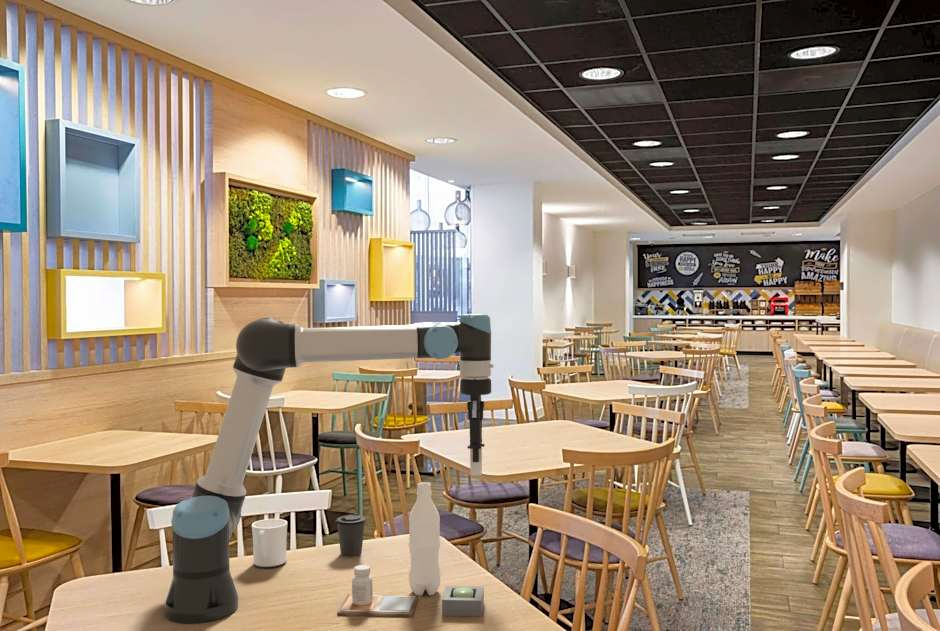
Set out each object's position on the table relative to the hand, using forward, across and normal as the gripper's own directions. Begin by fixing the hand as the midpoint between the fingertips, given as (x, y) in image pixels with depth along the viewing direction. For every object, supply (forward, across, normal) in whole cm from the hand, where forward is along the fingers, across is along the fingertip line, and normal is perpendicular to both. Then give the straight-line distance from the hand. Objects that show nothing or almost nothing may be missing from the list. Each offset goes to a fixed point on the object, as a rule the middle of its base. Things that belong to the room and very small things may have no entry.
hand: (476, 474), depth 199 cm
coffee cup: (+25, +14, +34) cm, 44 cm away
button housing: (+24, -22, +2) cm, 33 cm away
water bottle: (+25, -13, +11) cm, 30 cm away
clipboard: (+24, -22, +20) cm, 38 cm away
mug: (+25, +4, +53) cm, 59 cm away
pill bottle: (+24, -22, +24) cm, 40 cm away
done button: (+23, -22, +1) cm, 32 cm away
